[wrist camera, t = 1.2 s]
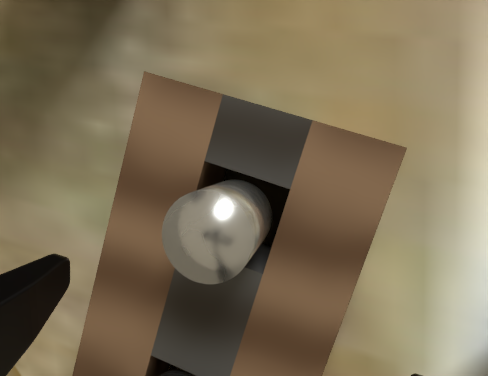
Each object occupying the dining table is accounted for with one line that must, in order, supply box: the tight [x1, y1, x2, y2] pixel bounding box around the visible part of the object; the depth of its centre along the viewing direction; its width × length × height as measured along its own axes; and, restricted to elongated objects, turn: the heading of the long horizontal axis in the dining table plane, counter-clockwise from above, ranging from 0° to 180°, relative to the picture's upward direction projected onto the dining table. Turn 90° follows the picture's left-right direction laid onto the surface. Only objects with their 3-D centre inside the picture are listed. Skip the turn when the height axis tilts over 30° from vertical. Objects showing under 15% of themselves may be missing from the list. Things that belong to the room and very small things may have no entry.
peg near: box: [162, 179, 272, 284], centre depth 18 cm, size 4×4×5 cm
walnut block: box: [73, 72, 407, 376], centre depth 24 cm, size 24×14×5 cm, turn 163°
